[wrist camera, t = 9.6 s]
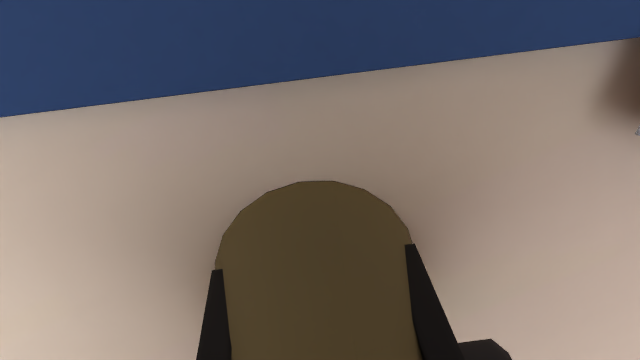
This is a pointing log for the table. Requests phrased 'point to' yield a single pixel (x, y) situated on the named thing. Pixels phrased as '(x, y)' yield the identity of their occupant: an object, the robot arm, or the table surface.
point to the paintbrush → (638, 131)
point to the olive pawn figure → (318, 277)
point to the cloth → (264, 42)
